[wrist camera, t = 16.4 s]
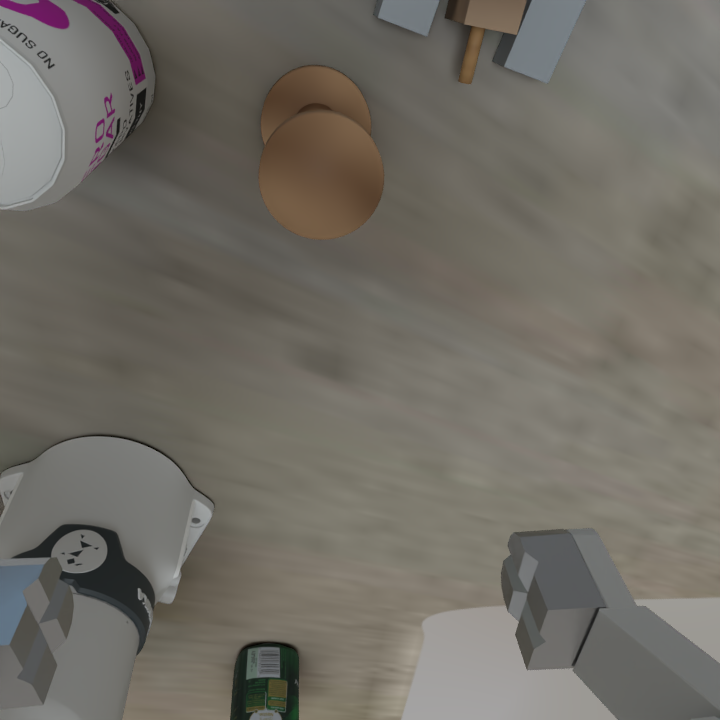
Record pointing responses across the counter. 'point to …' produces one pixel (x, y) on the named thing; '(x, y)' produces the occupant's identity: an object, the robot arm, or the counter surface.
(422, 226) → the counter surface
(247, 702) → the coffee jar
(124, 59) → the supplement can
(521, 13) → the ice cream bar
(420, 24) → the notch board
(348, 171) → the bobbin
